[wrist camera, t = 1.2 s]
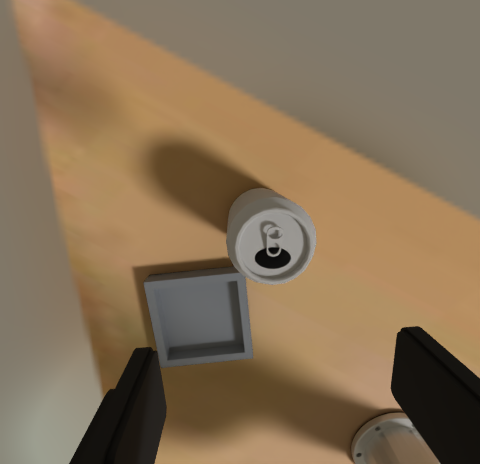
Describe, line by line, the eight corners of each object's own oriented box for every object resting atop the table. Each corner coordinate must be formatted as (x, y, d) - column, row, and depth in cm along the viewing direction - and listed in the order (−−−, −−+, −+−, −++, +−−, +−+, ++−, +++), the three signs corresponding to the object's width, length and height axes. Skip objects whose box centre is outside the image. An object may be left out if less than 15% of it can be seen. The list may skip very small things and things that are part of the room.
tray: (243, 265, 33) (244, 272, 31) (252, 346, 36) (253, 358, 34) (149, 275, 33) (143, 282, 31) (165, 355, 36) (160, 367, 34)
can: (227, 247, 32) (225, 293, 21) (228, 186, 30) (226, 198, 19) (287, 248, 33) (318, 293, 21) (291, 187, 31) (328, 200, 19)
